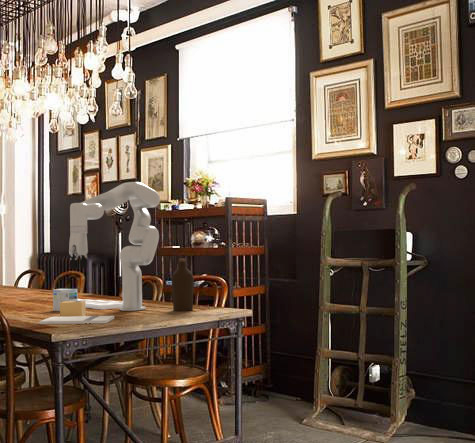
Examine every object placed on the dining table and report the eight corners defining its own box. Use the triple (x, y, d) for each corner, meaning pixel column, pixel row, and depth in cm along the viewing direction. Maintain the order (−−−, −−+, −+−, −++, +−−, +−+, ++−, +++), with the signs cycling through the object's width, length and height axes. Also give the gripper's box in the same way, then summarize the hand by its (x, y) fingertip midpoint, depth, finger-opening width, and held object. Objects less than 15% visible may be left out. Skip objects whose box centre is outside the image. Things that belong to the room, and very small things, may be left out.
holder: (61, 304, 355) (61, 299, 355) (90, 302, 367) (90, 297, 367) (100, 310, 321) (100, 305, 321) (132, 307, 333) (131, 302, 333)
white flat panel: (52, 319, 285) (52, 316, 285) (114, 318, 284) (114, 315, 284) (39, 324, 269) (39, 320, 269) (105, 323, 268) (105, 320, 268)
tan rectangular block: (64, 316, 296) (64, 301, 296) (85, 316, 296) (85, 300, 296) (60, 318, 290) (59, 302, 290) (81, 317, 290) (81, 302, 290)
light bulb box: (78, 310, 321) (78, 288, 321) (69, 311, 315) (69, 289, 315) (61, 309, 326) (61, 288, 326) (52, 311, 319) (52, 289, 320)
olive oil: (182, 311, 304) (182, 259, 305) (167, 310, 311) (166, 259, 312) (198, 309, 312) (197, 258, 313) (183, 308, 319) (182, 258, 320)
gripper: (79, 230, 299) (79, 267, 298) (62, 230, 282) (62, 269, 281) (94, 230, 297) (94, 267, 297) (78, 230, 280) (78, 269, 280)
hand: (79, 268), depth 289 cm, fingers open, 9 cm apart
